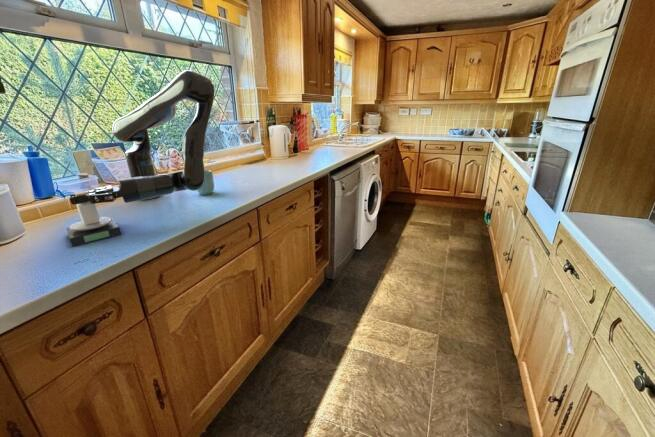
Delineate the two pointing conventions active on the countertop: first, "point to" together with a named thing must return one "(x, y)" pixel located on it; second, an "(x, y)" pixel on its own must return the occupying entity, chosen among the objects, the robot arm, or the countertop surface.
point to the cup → (207, 183)
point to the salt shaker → (87, 211)
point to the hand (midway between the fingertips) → (71, 199)
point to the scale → (92, 231)
